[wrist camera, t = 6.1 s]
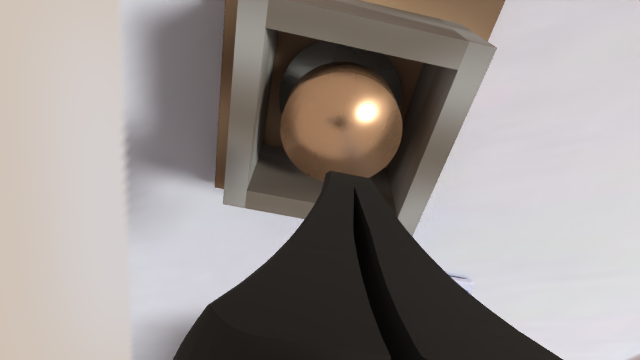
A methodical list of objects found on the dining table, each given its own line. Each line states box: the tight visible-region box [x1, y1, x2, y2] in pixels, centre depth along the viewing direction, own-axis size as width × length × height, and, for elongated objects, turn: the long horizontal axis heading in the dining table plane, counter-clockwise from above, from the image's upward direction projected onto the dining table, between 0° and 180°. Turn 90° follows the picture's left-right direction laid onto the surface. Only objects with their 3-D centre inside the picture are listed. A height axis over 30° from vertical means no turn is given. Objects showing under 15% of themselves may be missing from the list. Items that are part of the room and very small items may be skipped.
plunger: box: [279, 40, 402, 182], centre depth 17 cm, size 6×6×4 cm
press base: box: [215, 0, 505, 236], centre depth 17 cm, size 14×12×6 cm
